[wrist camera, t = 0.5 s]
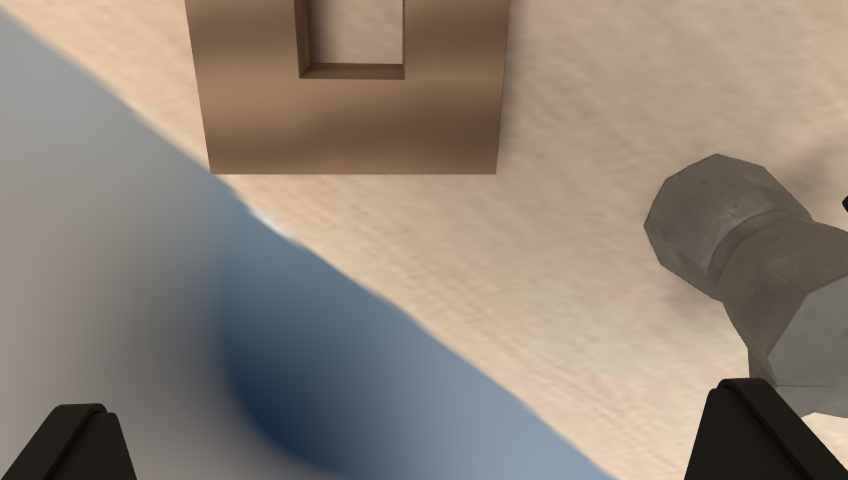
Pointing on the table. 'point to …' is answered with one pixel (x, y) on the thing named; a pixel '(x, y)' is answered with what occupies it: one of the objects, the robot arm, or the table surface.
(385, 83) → the socket block
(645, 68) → the table surface
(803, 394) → the coffeepot
